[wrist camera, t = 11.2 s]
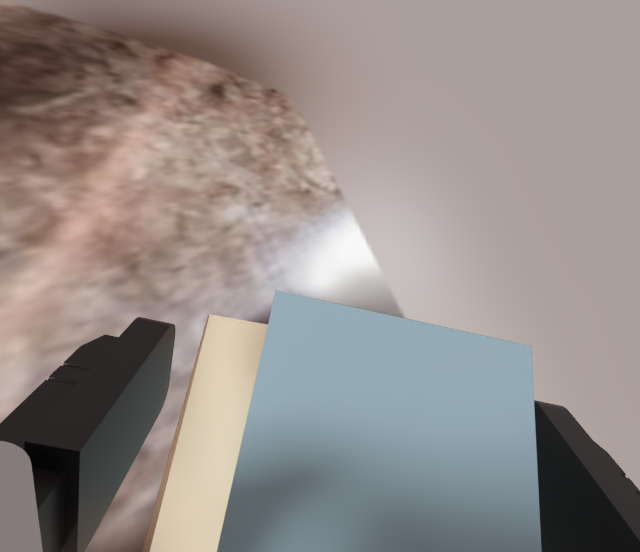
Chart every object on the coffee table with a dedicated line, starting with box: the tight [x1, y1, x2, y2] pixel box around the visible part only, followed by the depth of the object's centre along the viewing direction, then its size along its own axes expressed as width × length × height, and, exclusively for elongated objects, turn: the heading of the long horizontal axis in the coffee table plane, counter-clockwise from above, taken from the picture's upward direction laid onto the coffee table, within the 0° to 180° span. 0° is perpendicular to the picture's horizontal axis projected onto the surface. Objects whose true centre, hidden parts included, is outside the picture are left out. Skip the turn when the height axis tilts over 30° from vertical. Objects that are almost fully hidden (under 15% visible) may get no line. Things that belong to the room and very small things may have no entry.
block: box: [217, 290, 542, 552], centre depth 11 cm, size 4×4×11 cm
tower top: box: [150, 315, 268, 552], centre depth 18 cm, size 9×10×5 cm
